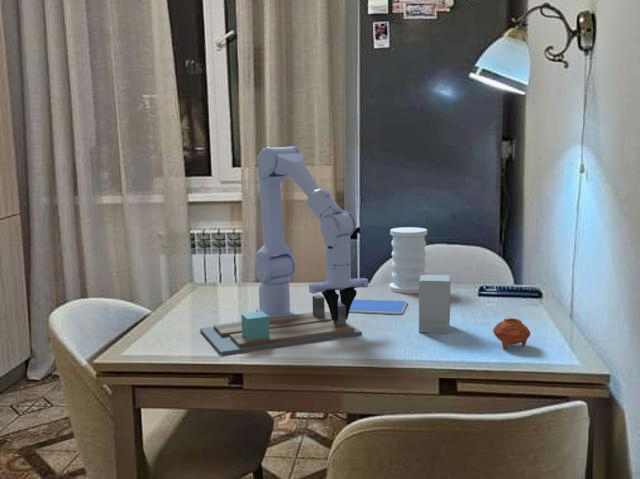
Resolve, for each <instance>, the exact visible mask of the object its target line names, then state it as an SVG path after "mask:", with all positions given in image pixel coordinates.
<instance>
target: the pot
mask: <svg viewBox="0 0 640 479" xmlns="http://www.w3.org/2000/svg"><path fill="white" fill-rule="evenodd" d="M492 332H493V334H494V336H495V338H497V339H498V340H499V341H500V342H501V345H502V349H503V350H507V349H508V345H519V344H521V347H522V348H523V347H525V346H526V344H527V341H528V339H529V338H530V336H531V331H530V329H529V328H528V327H527V326H526V324H524V323H523V322H522V320H521V319H518V318H512V317H508V318H504V319H503V320H502V321H500V322H498V323H497V324H496V325H495V326H494V327H493V330H492Z"/></svg>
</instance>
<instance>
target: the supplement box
mask: <svg viewBox="0 0 640 479" xmlns="http://www.w3.org/2000/svg"><path fill="white" fill-rule="evenodd" d="M450 322H451V275H449V274H448V275H447V274H442V275H441V274H426V275H421V276H420V280H419V293H418V332H419V333H432V334H434V333H435V334H450V324H451V323H450Z"/></svg>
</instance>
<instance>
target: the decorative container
mask: <svg viewBox="0 0 640 479" xmlns="http://www.w3.org/2000/svg"><path fill="white" fill-rule="evenodd" d="M389 233H390V236H392V240H391V247H392V251H391V257H392V261H391V267H392V272H391V278H392V282H391V283H389V284H388V286H389V287H388V288H389V291H391V292H393V293H397V294H411V295H412V294H419V280H420V276H421V275H427V274H426V271H425V268H426V266H427V263H426V261H425V259H426V255H427V253H426V248H425V247H426V246H427V242H426V240H425V236H427V235H428V229H427V228H423V227H415V226H413V227H412V226H408V227H407V226H406V227H405V226H404V227H394V228H390V230H389Z"/></svg>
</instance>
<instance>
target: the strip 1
mask: <svg viewBox="0 0 640 479" xmlns="http://www.w3.org/2000/svg"><path fill="white" fill-rule="evenodd" d="M325 312H326V311H325V298H324V296H323V295H321V294H316V295H312V312H305V313H297V314H296V313H295V315H288V316H280V317H272V318H269V329H275V328H282V327H290V326H297V325H305V324H312V323H319V322H327V321H332V318H330V317H328V316H327V315H325ZM213 327H214V329H215V330H216V331H217V332H218V333H219V334H220V335H221V336H222V337H226V336H230V334H237V333H242V320H240V321H236V322H235V321H234V322H226V323H219V324H213Z"/></svg>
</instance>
